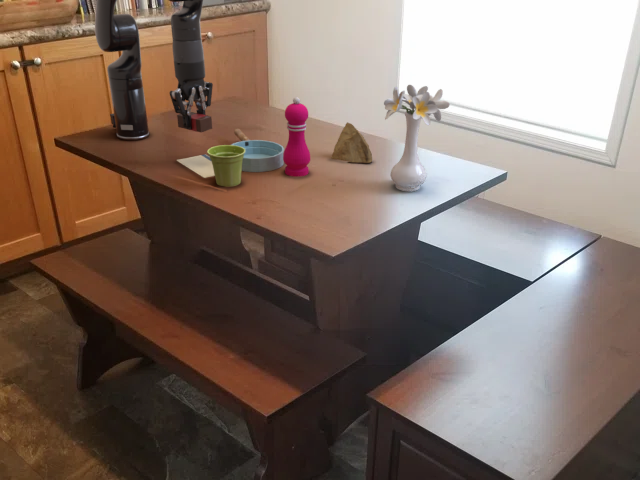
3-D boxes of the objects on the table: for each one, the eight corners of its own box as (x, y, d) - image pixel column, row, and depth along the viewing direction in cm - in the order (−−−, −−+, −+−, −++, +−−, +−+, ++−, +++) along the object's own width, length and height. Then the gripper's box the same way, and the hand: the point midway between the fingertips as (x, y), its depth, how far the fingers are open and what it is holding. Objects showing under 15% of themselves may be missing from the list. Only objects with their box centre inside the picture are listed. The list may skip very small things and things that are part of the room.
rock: (382, 152, 193) (358, 139, 198) (373, 132, 185) (348, 119, 190) (357, 180, 192) (333, 166, 197) (347, 162, 184) (322, 147, 189)
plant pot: (203, 181, 177) (200, 148, 172) (235, 174, 182) (234, 142, 177) (220, 193, 171) (218, 159, 166) (253, 186, 175) (252, 152, 170)
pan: (217, 161, 190) (216, 146, 187) (265, 151, 198) (264, 136, 195) (246, 178, 180) (245, 162, 177) (295, 166, 188) (295, 151, 185)
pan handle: (251, 146, 193) (251, 139, 192) (244, 147, 193) (244, 140, 192) (240, 134, 202) (239, 127, 201) (233, 134, 202) (233, 128, 201)
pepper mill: (314, 171, 185) (315, 95, 174) (304, 180, 179) (304, 102, 168) (289, 167, 187) (288, 92, 176) (279, 176, 181) (277, 98, 170)
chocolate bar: (178, 127, 182) (176, 114, 180) (189, 123, 185) (188, 111, 183) (200, 132, 178) (199, 120, 176) (212, 128, 181) (211, 116, 179)
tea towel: (176, 162, 188) (176, 159, 188) (205, 156, 193) (205, 154, 192) (204, 179, 178) (204, 177, 177) (234, 173, 182) (234, 170, 182)
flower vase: (445, 181, 182) (457, 83, 168) (412, 203, 169) (422, 99, 155) (403, 171, 188) (411, 75, 174) (367, 191, 175) (373, 89, 161)
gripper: (197, 51, 179) (202, 118, 188) (157, 60, 168) (165, 130, 178) (219, 55, 175) (223, 123, 185) (179, 65, 165) (186, 135, 174)
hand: (195, 126), depth 181 cm, fingers closed on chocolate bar, 4 cm apart
